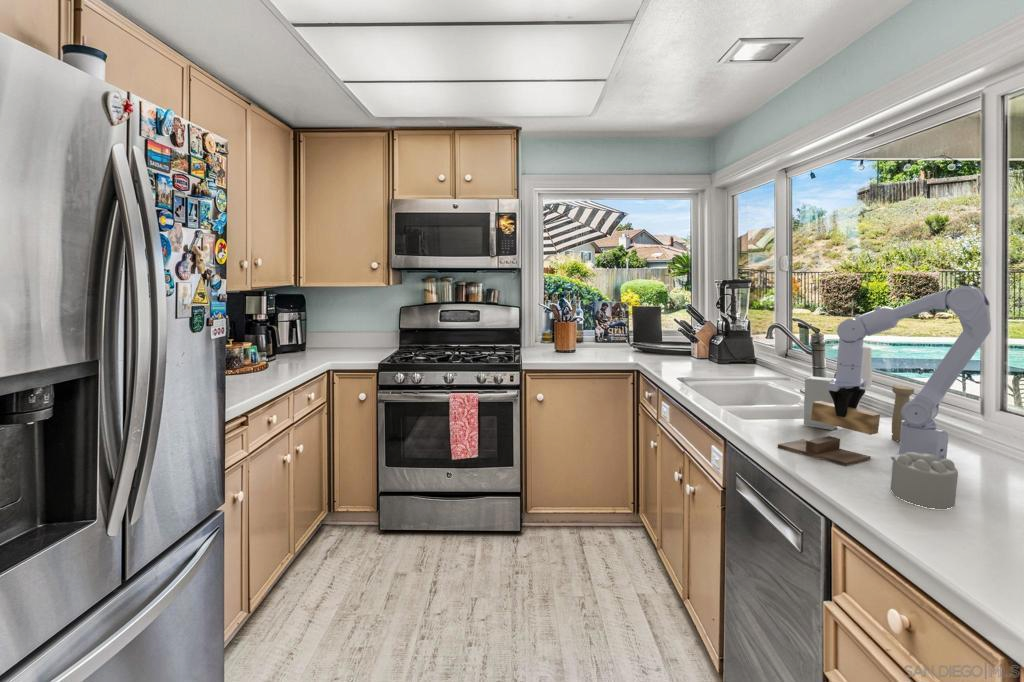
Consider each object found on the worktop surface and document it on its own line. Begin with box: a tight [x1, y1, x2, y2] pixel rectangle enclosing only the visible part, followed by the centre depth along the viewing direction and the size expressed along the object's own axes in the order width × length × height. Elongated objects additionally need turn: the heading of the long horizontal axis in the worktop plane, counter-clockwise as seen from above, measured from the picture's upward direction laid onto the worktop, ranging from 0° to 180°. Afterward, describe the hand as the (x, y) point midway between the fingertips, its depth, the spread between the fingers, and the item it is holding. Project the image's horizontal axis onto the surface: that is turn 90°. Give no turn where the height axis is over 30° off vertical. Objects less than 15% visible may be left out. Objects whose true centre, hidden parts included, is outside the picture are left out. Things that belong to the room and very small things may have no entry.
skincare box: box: [803, 375, 838, 430], centre depth 185 cm, size 8×6×15 cm
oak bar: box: [811, 401, 881, 436], centre depth 163 cm, size 16×4×5 cm, turn 33°
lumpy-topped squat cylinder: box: [890, 452, 959, 509], centre depth 125 cm, size 10×13×9 cm
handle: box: [891, 384, 915, 441], centre depth 171 cm, size 5×6×15 cm
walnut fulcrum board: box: [777, 435, 871, 467], centre depth 157 cm, size 18×11×4 cm, turn 33°
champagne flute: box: [856, 345, 873, 410], centre depth 189 cm, size 7×7×24 cm
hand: (845, 415), depth 163 cm, fingers closed on oak bar, 3 cm apart
